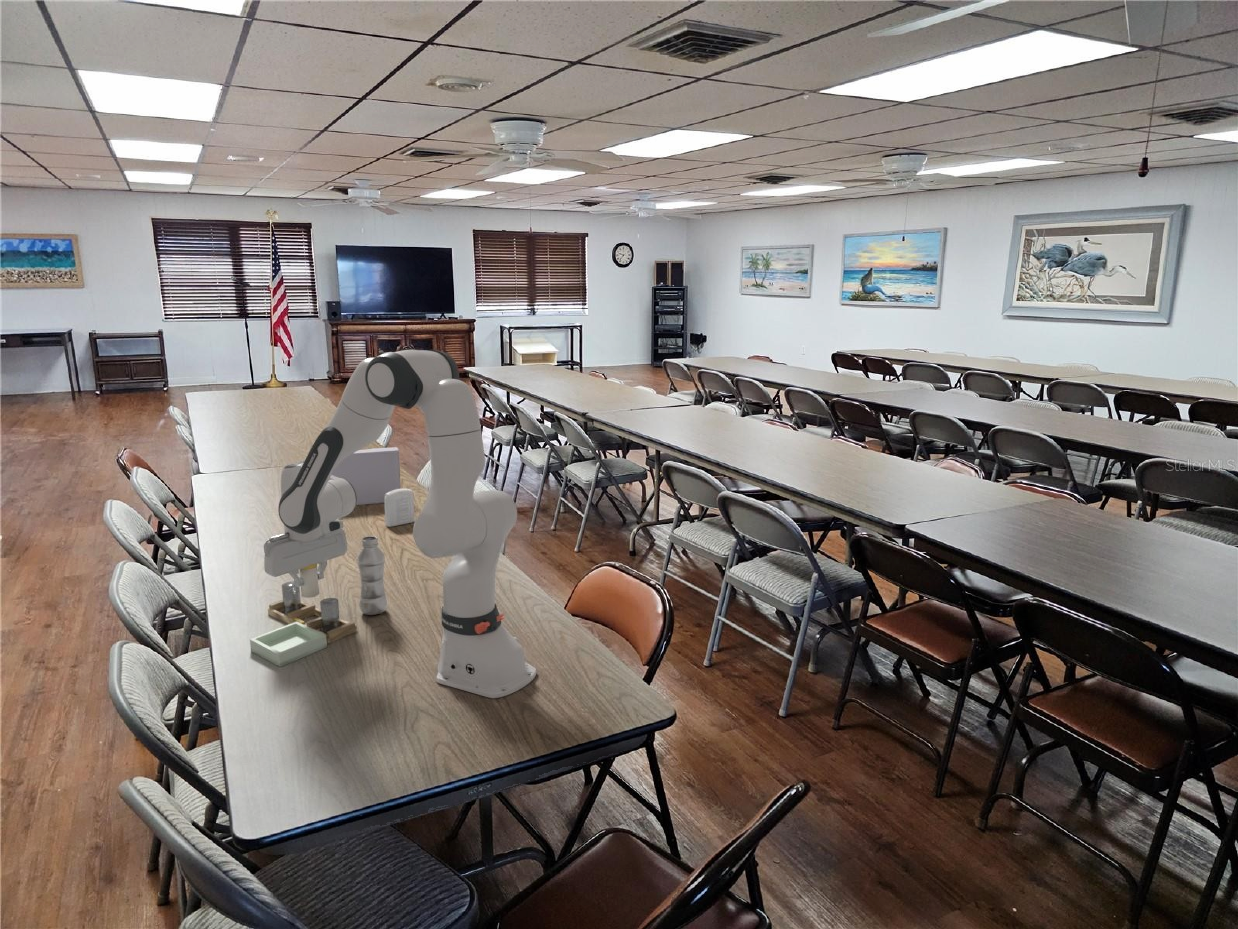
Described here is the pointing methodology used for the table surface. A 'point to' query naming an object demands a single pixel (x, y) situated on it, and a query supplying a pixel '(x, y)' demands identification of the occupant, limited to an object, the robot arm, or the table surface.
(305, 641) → the tray
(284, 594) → the canister
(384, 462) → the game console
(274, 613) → the rack
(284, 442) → the table surface
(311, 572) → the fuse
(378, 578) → the plastic bottle
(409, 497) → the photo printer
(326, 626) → the canister
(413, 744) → the table surface
